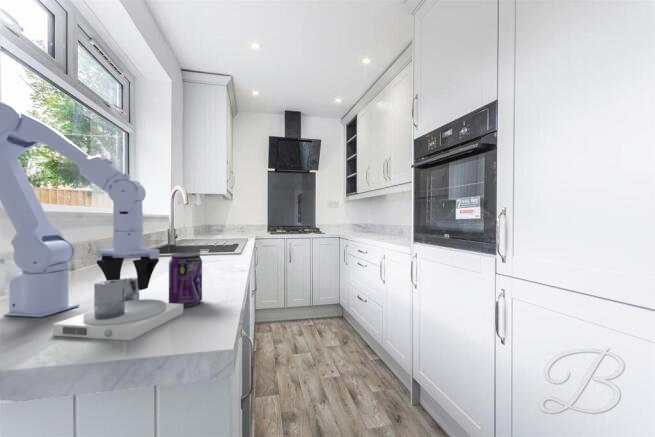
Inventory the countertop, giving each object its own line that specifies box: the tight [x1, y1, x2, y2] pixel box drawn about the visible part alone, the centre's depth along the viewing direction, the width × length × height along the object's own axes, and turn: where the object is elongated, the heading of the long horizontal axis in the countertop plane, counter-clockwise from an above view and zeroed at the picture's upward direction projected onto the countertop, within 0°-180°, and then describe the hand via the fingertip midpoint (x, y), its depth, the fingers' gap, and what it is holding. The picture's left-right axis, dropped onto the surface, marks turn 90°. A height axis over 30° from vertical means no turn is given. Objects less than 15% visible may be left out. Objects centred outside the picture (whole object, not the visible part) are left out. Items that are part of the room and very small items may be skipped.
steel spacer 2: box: [119, 277, 140, 301], centre depth 67 cm, size 4×4×6 cm
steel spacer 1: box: [93, 280, 125, 320], centre depth 52 cm, size 4×4×6 cm
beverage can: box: [168, 251, 203, 308], centre depth 68 cm, size 7×7×12 cm
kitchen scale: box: [52, 298, 184, 341], centre depth 55 cm, size 15×14×3 cm
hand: (128, 288), depth 67 cm, fingers open, 7 cm apart
